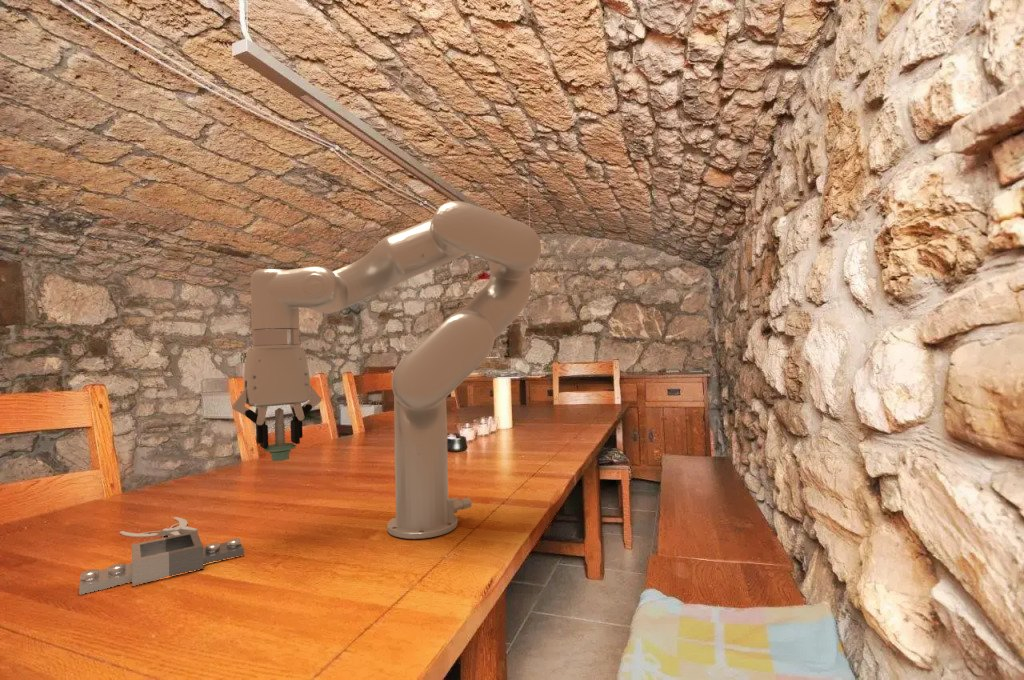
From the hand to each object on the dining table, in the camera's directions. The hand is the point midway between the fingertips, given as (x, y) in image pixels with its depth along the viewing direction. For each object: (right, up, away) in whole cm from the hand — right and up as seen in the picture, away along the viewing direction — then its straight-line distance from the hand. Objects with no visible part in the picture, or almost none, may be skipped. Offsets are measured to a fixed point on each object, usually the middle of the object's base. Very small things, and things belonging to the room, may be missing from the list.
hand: (280, 444), depth 87 cm
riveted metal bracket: (-12, -17, -11) cm, 23 cm away
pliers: (-23, -18, +5) cm, 30 cm away
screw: (0, -3, 0) cm, 3 cm away
